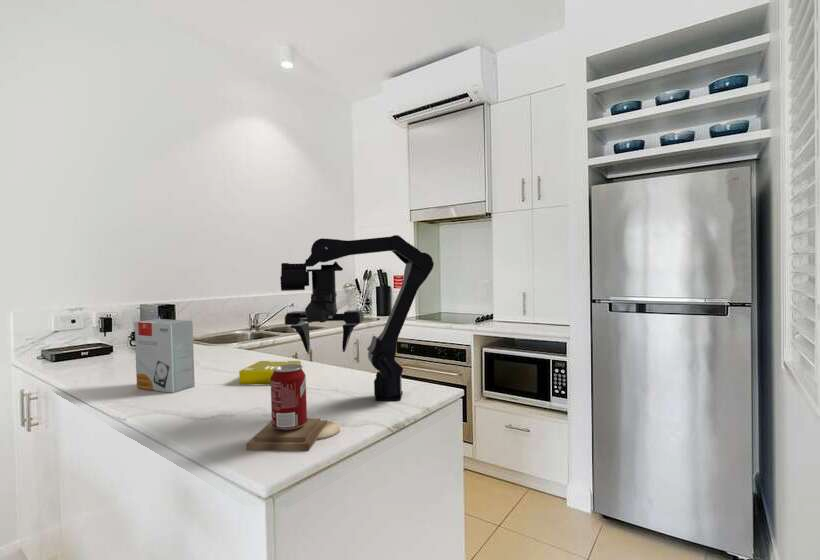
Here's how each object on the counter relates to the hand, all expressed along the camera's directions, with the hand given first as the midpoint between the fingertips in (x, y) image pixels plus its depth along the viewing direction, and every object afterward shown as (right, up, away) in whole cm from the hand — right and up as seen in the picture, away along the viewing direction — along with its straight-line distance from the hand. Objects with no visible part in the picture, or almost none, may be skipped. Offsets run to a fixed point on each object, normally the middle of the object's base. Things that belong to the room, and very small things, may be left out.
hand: (325, 351), depth 104 cm
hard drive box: (-51, -14, +19) cm, 57 cm away
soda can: (-3, -12, -20) cm, 24 cm away
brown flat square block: (-3, -14, -20) cm, 25 cm away
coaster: (+2, -13, -18) cm, 22 cm away
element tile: (-23, -14, +27) cm, 38 cm away
